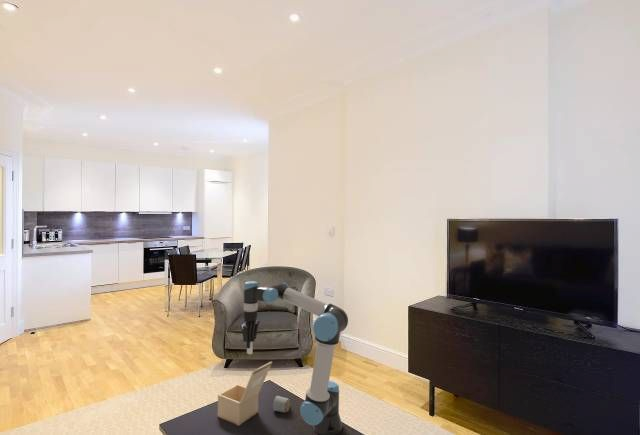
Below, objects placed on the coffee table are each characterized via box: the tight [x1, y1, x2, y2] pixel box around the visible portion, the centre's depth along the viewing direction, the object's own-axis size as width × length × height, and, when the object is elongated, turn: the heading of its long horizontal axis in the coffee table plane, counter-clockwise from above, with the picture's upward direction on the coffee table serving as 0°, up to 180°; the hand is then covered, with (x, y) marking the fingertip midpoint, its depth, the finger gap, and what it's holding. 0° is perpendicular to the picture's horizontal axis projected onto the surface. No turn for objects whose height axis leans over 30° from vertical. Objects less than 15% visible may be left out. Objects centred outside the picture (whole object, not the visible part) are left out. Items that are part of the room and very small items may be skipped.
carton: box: [217, 383, 259, 426], centre depth 196 cm, size 16×15×12 cm
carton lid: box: [240, 361, 273, 404], centre depth 189 cm, size 21×15×1 cm
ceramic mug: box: [272, 395, 291, 413], centre depth 202 cm, size 11×8×8 cm
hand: (249, 353), depth 192 cm, fingers closed
